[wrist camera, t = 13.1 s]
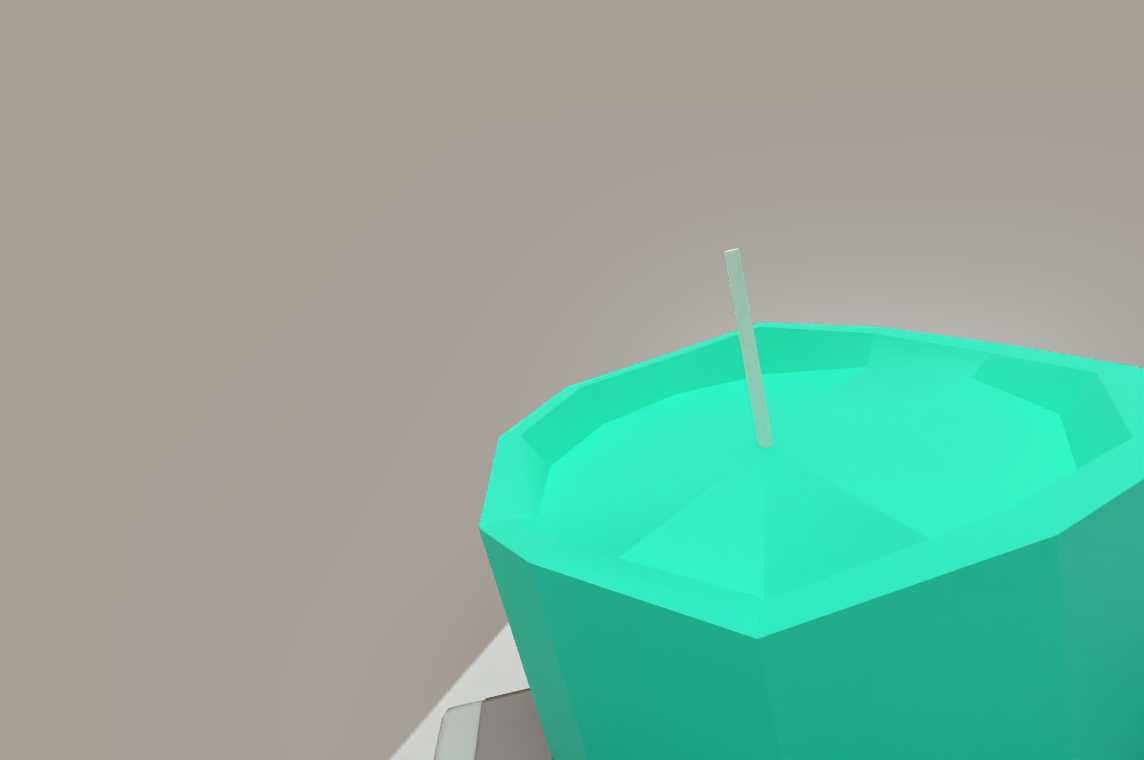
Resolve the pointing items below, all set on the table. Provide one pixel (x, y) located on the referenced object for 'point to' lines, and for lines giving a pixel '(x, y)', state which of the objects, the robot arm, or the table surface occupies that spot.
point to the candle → (830, 550)
